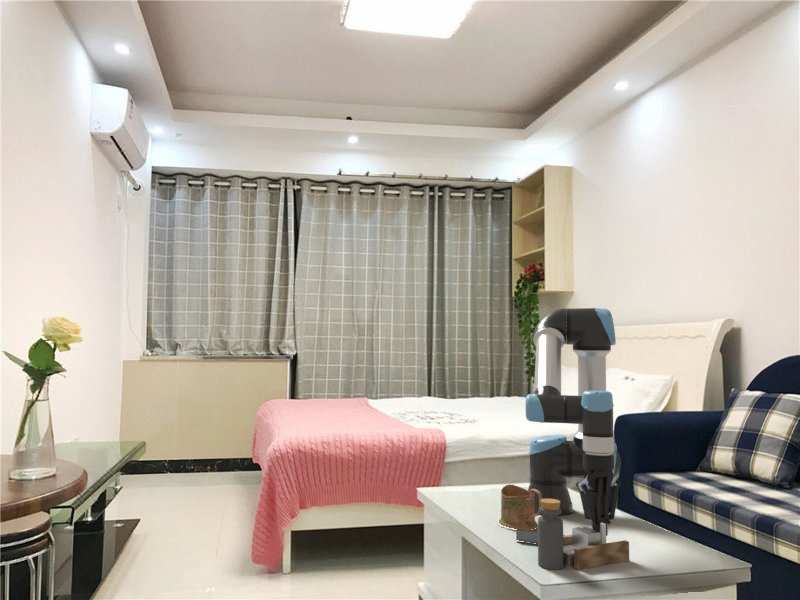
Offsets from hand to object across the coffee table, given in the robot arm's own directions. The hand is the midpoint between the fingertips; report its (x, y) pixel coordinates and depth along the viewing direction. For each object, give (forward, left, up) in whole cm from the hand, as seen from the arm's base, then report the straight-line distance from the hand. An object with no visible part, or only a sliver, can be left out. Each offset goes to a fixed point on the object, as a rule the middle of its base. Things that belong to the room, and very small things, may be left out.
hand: (600, 549), depth 152 cm
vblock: (+8, -12, -2) cm, 15 cm away
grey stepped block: (+7, 0, -2) cm, 8 cm away
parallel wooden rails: (+3, 0, -2) cm, 4 cm away
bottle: (+15, 0, -2) cm, 16 cm away
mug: (+2, -28, -2) cm, 28 cm away
